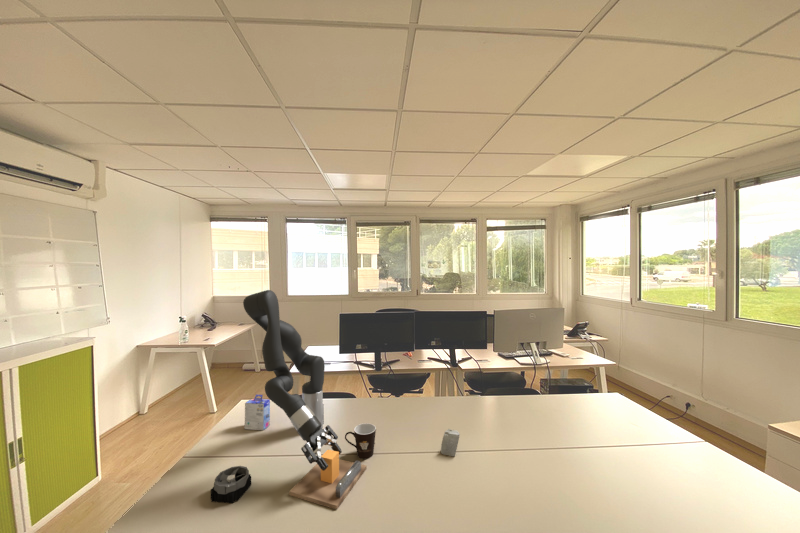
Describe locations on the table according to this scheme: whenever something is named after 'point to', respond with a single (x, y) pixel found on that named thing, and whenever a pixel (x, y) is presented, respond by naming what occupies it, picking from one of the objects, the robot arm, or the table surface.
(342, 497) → the plate
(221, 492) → the cpu cooler
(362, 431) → the coffee mug
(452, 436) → the mineral specimen
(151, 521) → the table surface
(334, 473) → the orange rectangular prism
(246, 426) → the ink cartridge box
